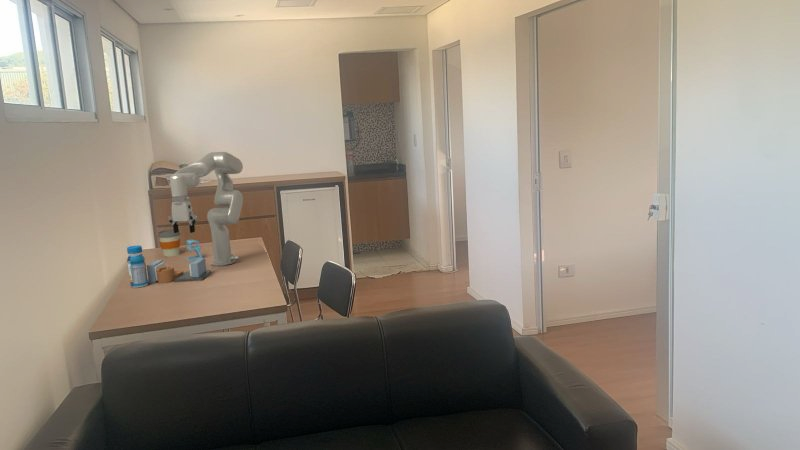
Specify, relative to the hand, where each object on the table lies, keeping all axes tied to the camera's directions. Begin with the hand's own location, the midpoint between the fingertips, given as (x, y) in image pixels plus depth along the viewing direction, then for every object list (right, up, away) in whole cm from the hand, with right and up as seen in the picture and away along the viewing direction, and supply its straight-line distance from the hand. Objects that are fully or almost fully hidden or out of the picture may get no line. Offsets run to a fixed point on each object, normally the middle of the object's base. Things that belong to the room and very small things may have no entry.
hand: (184, 232), depth 317 cm
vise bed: (+3, -23, +4) cm, 24 cm away
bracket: (-8, -24, +4) cm, 26 cm away
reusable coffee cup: (-32, -15, +68) cm, 76 cm away
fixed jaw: (-15, -24, +4) cm, 29 cm away
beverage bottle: (-20, -27, -7) cm, 34 cm away
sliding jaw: (+6, -22, +3) cm, 23 cm away
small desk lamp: (-12, -17, +51) cm, 55 cm away
